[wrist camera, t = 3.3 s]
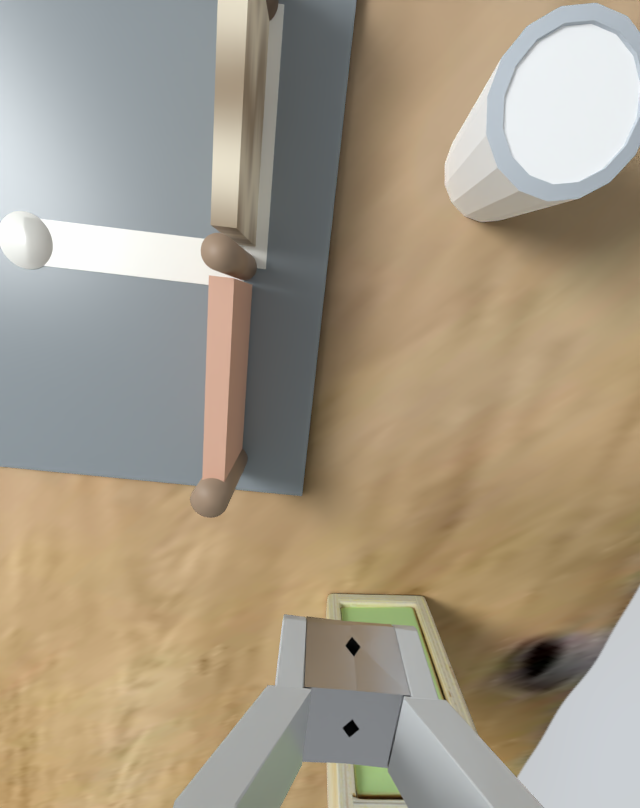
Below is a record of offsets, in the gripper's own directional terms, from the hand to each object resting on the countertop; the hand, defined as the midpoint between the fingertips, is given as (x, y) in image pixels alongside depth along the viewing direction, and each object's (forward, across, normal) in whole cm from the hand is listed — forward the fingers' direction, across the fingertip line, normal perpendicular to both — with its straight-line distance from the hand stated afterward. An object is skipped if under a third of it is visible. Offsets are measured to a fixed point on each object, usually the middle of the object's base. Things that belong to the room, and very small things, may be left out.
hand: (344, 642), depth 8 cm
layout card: (+17, +13, -9) cm, 24 cm away
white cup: (+18, -8, -16) cm, 25 cm away
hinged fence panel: (+17, +6, -3) cm, 18 cm away
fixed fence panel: (+17, +6, -17) cm, 25 cm away
